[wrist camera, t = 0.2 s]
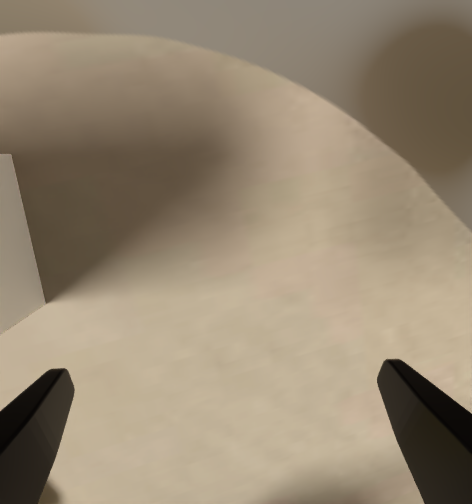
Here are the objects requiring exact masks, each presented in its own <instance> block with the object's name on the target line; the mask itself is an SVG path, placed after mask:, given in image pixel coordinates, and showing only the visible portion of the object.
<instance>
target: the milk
mask: <svg viewBox="0 0 472 504" xmlns="http://www.w3.org/2000/svg"><path fill="white" fill-rule="evenodd" d="M45 304H46V303H45V298H44V294H43V290H42V285H41V281H40V277H39V272H38V268H37V264H36V259H35V255H34V251H33V246H32V242H31V238H30V233H29V229H28V225H27V220H26V216H25V212H24V207H23V203H22V199H21V194H20V190H19V186H18V181H17V177H16V173H15V168H14V164H13V160H12V155H11V154H0V335H1V334H2V333H4V332H5V331H7V330H8V329H10V328H11V327H13V326H14V325H16V324H17V323H19V322H20V321H22V320H23V319H25V318H26V317H28V316H29V315H31V314H32V313H33V312H35V311H36V310H38V309H39V308H41V307H42V306H44V305H45Z"/></svg>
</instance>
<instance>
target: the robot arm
mask: <svg viewBox="0 0 472 504" xmlns="http://www.w3.org/2000/svg"><path fill="white" fill-rule="evenodd" d="M377 383H378V387H379V390H380V393H381V396H382V399H383V402H384V405H385V408H386V411H387V414H388V417H389V420H390V423H391V426H392V429H393V431H394V434H395V437H396V440H397V442H398V444H399V447H400V449H401V451H402V454H403V456H404V458H405V460H406V463H407V465H408V467H409V469H410V472H411V474H412V476H413V478H414V481H415V483H416V485H417V487H418V489H419V492H420V494H421V496H422V498H423V501H424V503H425V504H472V414H471V413H470V412H469V411H468V410H466V409H465V408H464V407H462V406H461V405H460V404H458V403H457V402H456V401H454V400H453V399H452V398H451V397H449V396H448V395H447V394H445V393H444V392H443V391H441V390H440V389H439V388H437V387H436V386H435V385H434V384H432V383H431V382H430V381H428V380H427V379H426V378H424V377H423V376H422V375H420V374H419V373H418V372H417V371H415V370H414V369H413V368H411V367H410V366H409V365H407V364H406V363H405V362H403V361H402V360H400V359H386V360H385V361H384V362H383V364H382V367H381V369H380V372H379V374H378V377H377ZM73 397H74V385H73V382H72V380H71V377H70V375H69V372H68V370H67V369H65V368H60V369H50V370H48V371H47V372H46V373H44V374H43V375H42V376H41V377H40V378H39V379H37V380H36V381H35V382H34V383H33V384H31V385H30V386H29V387H28V388H27V389H26V390H24V391H23V392H22V393H21V394H20V395H19V396H17V397H16V398H15V399H14V400H13V401H12V402H10V403H9V404H8V405H7V406H6V407H5V408H3V409H2V410H1V411H0V504H38V501H39V499H40V496H41V494H42V491H43V489H44V486H45V484H46V481H47V479H48V476H49V474H50V471H51V469H52V466H53V463H54V461H55V458H56V455H57V452H58V449H59V446H60V442H61V439H62V435H63V432H64V428H65V425H66V421H67V418H68V414H69V411H70V407H71V404H72V400H73Z"/></svg>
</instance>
